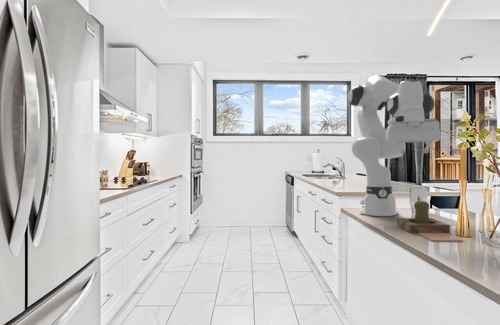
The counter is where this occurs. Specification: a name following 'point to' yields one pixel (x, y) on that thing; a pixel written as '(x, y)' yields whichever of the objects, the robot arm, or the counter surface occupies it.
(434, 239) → the terracotta tile
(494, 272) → the counter surface
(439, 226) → the walnut holder
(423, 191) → the beer glass
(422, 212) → the olive flared column
